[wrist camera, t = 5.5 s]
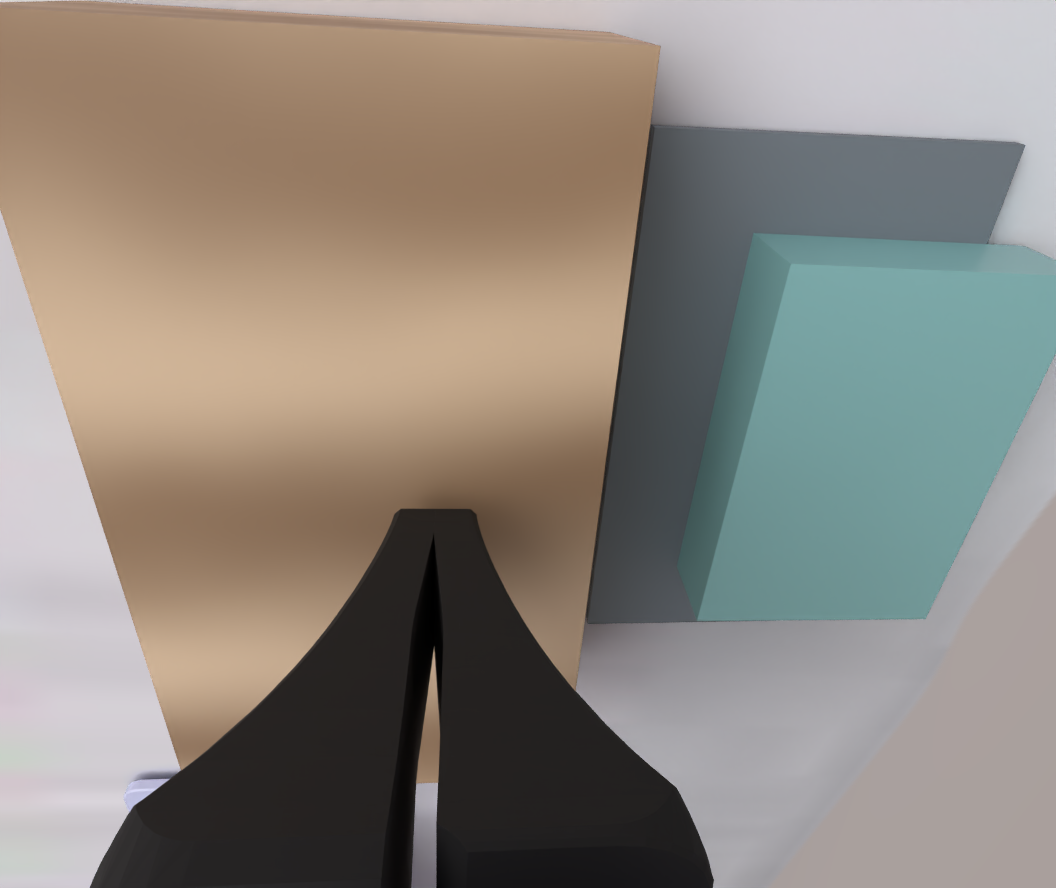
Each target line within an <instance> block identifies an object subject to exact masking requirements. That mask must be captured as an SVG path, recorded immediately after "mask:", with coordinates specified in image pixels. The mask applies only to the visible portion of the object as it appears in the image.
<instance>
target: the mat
mask: <svg viewBox="0 0 1056 888" xmlns="http://www.w3.org/2000/svg"><path fill="white" fill-rule="evenodd" d="M1024 148H1025V145H1024V144H1020V143H1016V142H998V141H977V140H956V139H935V138H914V137H893V136H872V135H851V134H830V133H809V132H788V131H767V130H746V129H725V128H704V127H683V126H662V125H651V132H650V139H649V147H648V154H647V162H646V169H645V177H644V184H643V192H642V199H641V207H640V214H639V222H638V230H637V237H636V245H635V252H634V260H633V267H632V275H631V282H630V290H629V297H628V305H627V312H626V320H625V327H624V335H623V343H622V350H621V358H620V365H619V373H618V380H617V388H616V395H615V403H614V410H613V418H612V425H611V433H610V441H609V448H608V456H607V463H606V471H605V478H604V486H603V493H602V501H601V508H600V516H599V523H598V531H597V538H596V546H595V554H594V561H593V569H592V576H591V584H590V591H589V599H588V606H587V614H586V618H587V623H588V624H609V623H663V622H716V621H697V619H696V617H695V614H694V611H693V609H692V606H691V603H690V601H689V598H688V595H687V593H686V590H685V587H684V585H683V582H682V579H681V577H680V574H679V571H678V569H677V563H678V559H679V555H680V550H681V546H682V542H683V537H684V533H685V529H686V524H687V520H688V516H689V511H690V507H691V503H692V498H693V494H694V490H695V485H696V481H697V476H698V472H699V468H700V463H701V459H702V455H703V450H704V446H705V442H706V437H707V433H708V429H709V424H710V420H711V416H712V411H713V407H714V403H715V398H716V394H717V390H718V385H719V381H720V376H721V372H722V368H723V363H724V359H725V355H726V350H727V346H728V342H729V337H730V333H731V329H732V324H733V320H734V316H735V311H736V307H737V303H738V298H739V294H740V290H741V285H742V281H743V277H744V272H745V268H746V263H747V259H748V255H749V250H750V246H751V242H752V237H753V233H764V234H785V235H806V236H827V237H848V238H869V239H890V240H910V241H931V242H952V243H973V244H987V243H988V240H989V238H990V235H991V233H992V230H993V227H994V225H995V222H996V220H997V217H998V215H999V212H1000V209H1001V207H1002V204H1003V202H1004V199H1005V197H1006V194H1007V191H1008V189H1009V186H1010V184H1011V181H1012V179H1013V176H1014V173H1015V171H1016V168H1017V166H1018V163H1019V161H1020V158H1021V155H1022V153H1023V150H1024ZM752 621H770V620H752Z"/></svg>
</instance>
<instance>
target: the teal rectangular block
mask: <svg viewBox="0 0 1056 888" xmlns="http://www.w3.org/2000/svg"><path fill="white" fill-rule="evenodd" d="M1055 354H1056V260H1054V259H1052V258H1050V257H1047V256H1045V255H1043V254H1041V253H1039V252H1036V251H1034V250H1032V249H1030V248H1028V247H1025V246H1015V245H994V244H973V243H952V242H931V241H910V240H890V239H869V238H848V237H827V236H806V235H785V234H764V233H753V237H752V242H751V246H750V250H749V255H748V259H747V263H746V268H745V272H744V277H743V281H742V285H741V290H740V294H739V298H738V303H737V307H736V311H735V316H734V320H733V324H732V329H731V333H730V337H729V342H728V346H727V350H726V355H725V359H724V363H723V368H722V372H721V376H720V381H719V385H718V390H717V394H716V398H715V403H714V407H713V411H712V416H711V420H710V424H709V429H708V433H707V437H706V442H705V446H704V450H703V455H702V459H701V463H700V468H699V472H698V476H697V481H696V485H695V490H694V494H693V498H692V503H691V507H690V511H689V516H688V520H687V524H686V529H685V533H684V537H683V542H682V546H681V550H680V555H679V559H678V563H677V569H678V571H679V574H680V577H681V579H682V582H683V585H684V587H685V590H686V593H687V595H688V598H689V601H690V603H691V606H692V609H693V611H694V614H695V617H696V619H697V621H752V620H870V619H926V617H927V615H928V613H929V611H930V608H931V606H932V604H933V602H934V600H935V598H936V596H937V594H938V592H939V590H940V588H941V586H942V584H943V582H944V580H945V578H946V576H947V574H948V572H949V570H950V568H951V566H952V564H953V562H954V560H955V558H956V555H957V553H958V551H959V549H960V547H961V545H962V543H963V541H964V539H965V537H966V535H967V533H968V531H969V529H970V527H971V525H972V523H973V521H974V519H975V517H976V515H977V513H978V511H979V509H980V507H981V505H982V502H983V500H984V498H985V496H986V494H987V492H988V490H989V488H990V486H991V484H992V482H993V480H994V478H995V476H996V474H997V472H998V470H999V468H1000V466H1001V464H1002V462H1003V460H1004V458H1005V456H1006V454H1007V452H1008V449H1009V447H1010V445H1011V443H1012V441H1013V439H1014V437H1015V435H1016V433H1017V431H1018V429H1019V427H1020V425H1021V423H1022V421H1023V419H1024V417H1025V415H1026V413H1027V411H1028V409H1029V407H1030V405H1031V403H1032V401H1033V399H1034V396H1035V394H1036V392H1037V390H1038V388H1039V386H1040V384H1041V382H1042V380H1043V378H1044V376H1045V374H1046V372H1047V370H1048V368H1049V366H1050V364H1051V362H1052V360H1053V358H1054V356H1055Z"/></svg>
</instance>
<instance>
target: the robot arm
mask: <svg viewBox="0 0 1056 888" xmlns="http://www.w3.org/2000/svg"><path fill="white" fill-rule="evenodd" d="M434 651H435V666H436V681H437V696H438V710H439V725H440V751H439V776H438V800H437V888H713V882H714V879H713V876H712V873H711V868H710V864H709V860H708V857H707V854H706V851H705V849H704V846H703V844H702V841H701V839H700V836H699V834H698V831H697V829H696V827H695V825H694V822H693V820H692V818H691V816H690V813H689V811H688V809H687V807H686V805H685V803H684V801H683V799H682V797H681V795H680V793H679V792H678V790H677V788H676V787H675V786H674V785H673V784H671V783H670V782H669V781H668V780H667V779H665V778H664V777H663V776H662V775H661V774H659V773H658V772H657V771H656V770H655V769H653V768H652V767H651V766H650V765H649V764H648V763H646V762H645V761H644V760H643V759H642V758H641V757H640V756H639V755H637V754H636V753H635V752H634V751H633V750H632V749H631V748H630V747H629V746H628V745H627V744H626V743H625V742H624V741H622V740H621V739H620V738H619V737H618V736H617V735H616V734H615V733H614V732H613V731H612V730H611V729H610V728H609V727H608V726H607V725H606V724H605V723H604V722H603V721H602V720H601V719H600V717H599V716H598V715H597V714H596V713H595V712H594V711H593V710H592V709H591V708H590V706H589V705H588V704H587V703H586V702H585V701H584V700H583V699H582V698H581V697H580V695H579V694H578V693H577V692H576V691H575V690H574V689H573V688H572V687H571V685H570V684H569V683H568V682H567V680H566V679H565V678H564V677H563V675H562V674H561V673H560V672H559V670H558V669H557V668H556V667H555V665H554V664H553V663H552V661H551V660H550V659H549V657H548V656H547V655H546V653H545V652H544V650H543V649H542V648H541V646H540V645H539V643H538V642H537V641H536V639H535V638H534V636H533V635H532V633H531V631H530V630H529V628H528V627H527V625H526V624H525V622H524V620H523V619H522V617H521V615H520V614H519V612H518V610H517V609H516V607H515V605H514V604H513V602H512V600H511V598H510V596H509V595H508V593H507V591H506V589H505V587H504V585H503V583H502V581H501V579H500V577H499V575H498V573H497V571H496V569H495V567H494V565H493V562H492V560H491V558H490V556H489V553H488V551H487V548H486V546H485V543H484V540H483V538H482V535H481V531H480V528H479V524H478V520H477V514H476V513H474V512H473V511H472V510H471V509H400V510H399V511H397V512H396V513H395V514H394V517H393V519H392V522H391V525H390V527H389V529H388V531H387V534H386V536H385V538H384V540H383V542H382V544H381V546H380V547H379V549H378V551H377V553H376V555H375V557H374V558H373V560H372V562H371V563H370V565H369V567H368V568H367V570H366V572H365V573H364V575H363V577H362V578H361V580H360V581H359V583H358V585H357V586H356V588H355V589H354V591H353V592H352V594H351V595H350V597H349V598H348V599H347V601H346V602H345V604H344V605H343V607H342V608H341V609H340V611H339V612H338V614H337V615H336V616H335V618H334V619H333V621H332V622H331V623H330V625H329V626H328V627H327V629H326V630H325V631H324V632H323V634H322V635H321V636H320V637H319V639H318V640H317V641H316V642H315V644H314V645H313V646H312V647H311V648H310V650H309V651H308V652H307V653H306V654H305V655H304V657H303V658H302V659H301V660H300V661H299V662H298V663H297V665H296V666H295V667H294V668H293V669H292V670H291V671H290V672H289V673H288V674H287V675H286V676H285V677H284V678H283V679H282V681H281V682H280V683H279V684H278V685H277V686H276V687H275V688H274V689H273V690H272V691H271V692H270V693H269V694H268V695H267V696H266V697H265V698H264V699H263V700H262V701H261V702H260V703H259V704H258V705H257V706H256V707H255V708H254V709H253V710H252V711H251V712H250V713H248V714H247V715H246V716H245V717H244V718H243V719H242V720H241V721H239V722H238V723H237V724H236V725H235V726H234V727H233V728H231V729H230V730H229V731H228V732H227V733H226V734H225V735H224V736H222V737H221V738H220V739H219V740H218V741H217V742H216V743H214V744H213V745H212V746H211V747H210V748H209V749H208V750H206V751H205V752H204V753H203V754H202V755H200V756H199V757H198V758H197V759H195V760H194V761H193V762H192V763H190V764H189V765H188V766H186V767H185V768H184V769H182V770H181V771H180V772H178V773H177V774H176V775H174V776H173V777H172V778H170V779H146V780H136V781H134V782H132V783H130V784H129V785H128V787H127V789H126V792H125V794H124V801H125V803H126V805H127V808H128V810H129V814H128V816H127V817H126V819H125V821H124V822H123V824H122V826H121V828H120V829H119V831H118V833H117V834H116V836H115V838H114V840H113V842H112V844H111V846H110V847H109V849H108V851H107V853H106V854H105V856H104V858H103V860H102V862H101V864H100V866H99V868H98V870H97V872H96V874H95V876H94V879H93V881H92V884H91V886H90V888H411V880H412V857H413V835H414V814H415V793H416V780H417V770H418V760H419V753H420V746H421V739H422V732H423V724H424V717H425V710H426V703H427V696H428V689H429V681H430V674H431V667H432V659H433V652H434Z"/></svg>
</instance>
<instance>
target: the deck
mask: <svg viewBox="0 0 1056 888" xmlns="http://www.w3.org/2000/svg"><path fill="white" fill-rule="evenodd" d="M659 54H660V46H658V45H655V44H651V43H647V42H643V41H640V40H636V39H632V38H629V37H625V36H621V35H617V34H614V33H610V32H597V31H581V30H564V29H547V28H530V27H514V26H497V25H480V24H463V23H446V22H430V21H413V20H396V19H379V18H362V17H346V16H329V15H312V14H295V13H279V12H262V11H245V10H228V9H211V8H195V7H178V6H161V5H144V4H128V3H111V2H94V1H45V2H0V210H1V213H2V216H3V219H4V222H5V225H6V228H7V231H8V234H9V238H10V241H11V244H12V247H13V250H14V253H15V256H16V259H17V262H18V265H19V269H20V272H21V275H22V278H23V281H24V284H25V287H26V290H27V293H28V297H29V300H30V303H31V306H32V309H33V312H34V315H35V318H36V321H37V324H38V328H39V331H40V334H41V337H42V340H43V343H44V346H45V349H46V352H47V356H48V359H49V362H50V365H51V368H52V371H53V374H54V377H55V380H56V384H57V387H58V390H59V393H60V396H61V399H62V402H63V405H64V408H65V411H66V415H67V418H68V421H69V424H70V427H71V430H72V433H73V436H74V439H75V443H76V446H77V449H78V452H79V455H80V458H81V461H82V464H83V467H84V470H85V474H86V477H87V480H88V483H89V486H90V489H91V492H92V495H93V498H94V502H95V505H96V508H97V511H98V514H99V517H100V520H101V523H102V526H103V530H104V533H105V536H106V539H107V542H108V545H109V548H110V551H111V554H112V557H113V561H114V564H115V567H116V570H117V573H118V576H119V579H120V582H121V585H122V589H123V592H124V595H125V598H126V601H127V604H128V607H129V610H130V613H131V617H132V620H133V623H134V626H135V629H136V632H137V635H138V638H139V641H140V644H141V648H142V651H143V654H144V657H145V660H146V663H147V666H148V669H149V672H150V676H151V679H152V682H153V685H154V688H155V691H156V694H157V697H158V700H159V703H160V707H161V710H162V713H163V716H164V719H165V722H166V725H167V728H168V731H169V735H170V738H171V741H172V744H173V747H174V750H175V753H176V756H177V759H178V763H179V766H180V769H181V770H182V769H184V768H185V767H186V766H188V765H189V764H190V763H192V762H193V761H194V760H195V759H197V758H198V757H199V756H200V755H202V754H203V753H204V752H205V751H206V750H208V749H209V748H210V747H211V746H212V745H213V744H214V743H216V742H217V741H218V740H219V739H220V738H221V737H222V736H224V735H225V734H226V733H227V732H228V731H229V730H230V729H231V728H233V727H234V726H235V725H236V724H237V723H238V722H239V721H241V720H242V719H243V718H244V717H245V716H246V715H247V714H248V713H250V712H251V711H252V710H253V709H254V708H255V707H256V706H257V705H258V704H259V703H260V702H261V701H262V700H263V699H264V698H265V697H266V696H267V695H268V694H269V693H270V692H271V691H272V690H273V689H274V688H275V687H276V686H277V685H278V684H279V683H280V682H281V681H282V679H283V678H284V677H285V676H286V675H287V674H288V673H289V672H290V671H291V670H292V669H293V668H294V667H295V666H296V665H297V663H298V662H299V661H300V660H301V659H302V658H303V657H304V655H305V654H306V653H307V652H308V651H309V650H310V648H311V647H312V646H313V645H314V644H315V642H316V641H317V640H318V639H319V637H320V636H321V635H322V634H323V632H324V631H325V630H326V629H327V627H328V626H329V625H330V623H331V622H332V621H333V619H334V618H335V616H336V615H337V614H338V612H339V611H340V609H341V608H342V607H343V605H344V604H345V602H346V601H347V599H348V598H349V597H350V595H351V594H352V592H353V591H354V589H355V588H356V586H357V585H358V583H359V581H360V580H361V578H362V577H363V575H364V573H365V572H366V570H367V568H368V567H369V565H370V563H371V562H372V560H373V558H374V557H375V555H376V553H377V551H378V549H379V547H380V546H381V544H382V542H383V540H384V538H385V536H386V534H387V531H388V529H389V527H390V525H391V522H392V519H393V517H394V514H395V513H396V512H397V511H399V510H400V509H471V510H472V511H473V512H474V513H476V514H477V520H478V524H479V528H480V531H481V535H482V538H483V540H484V543H485V546H486V548H487V551H488V553H489V556H490V558H491V560H492V562H493V565H494V567H495V569H496V571H497V573H498V575H499V577H500V579H501V581H502V583H503V585H504V587H505V589H506V591H507V593H508V595H509V596H510V598H511V600H512V602H513V604H514V605H515V607H516V609H517V610H518V612H519V614H520V615H521V617H522V619H523V620H524V622H525V624H526V625H527V627H528V628H529V630H530V631H531V633H532V635H533V636H534V638H535V639H536V641H537V642H538V643H539V645H540V646H541V648H542V649H543V650H544V652H545V653H546V655H547V656H548V657H549V659H550V660H551V661H552V663H553V664H554V665H555V667H556V668H557V669H558V670H559V672H560V673H561V674H562V675H563V677H564V678H565V679H566V680H567V682H568V683H569V684H570V685H571V687H572V688H573V689H574V690H575V691H576V683H577V676H578V668H579V661H580V653H581V645H582V638H583V630H584V623H585V615H586V608H587V600H588V592H589V585H590V577H591V570H592V562H593V554H594V547H595V539H596V532H597V524H598V517H599V509H600V501H601V494H602V486H603V479H604V471H605V463H606V456H607V448H608V441H609V433H610V426H611V418H612V410H613V403H614V395H615V388H616V380H617V372H618V365H619V357H620V350H621V342H622V335H623V327H624V319H625V312H626V304H627V297H628V289H629V281H630V274H631V266H632V259H633V251H634V244H635V236H636V228H637V221H638V213H639V206H640V198H641V190H642V183H643V175H644V168H645V160H646V153H647V145H648V137H649V130H650V122H651V115H652V107H653V99H654V92H655V84H656V77H657V69H658V62H659ZM439 751H440V725H439V710H438V696H437V681H436V666H435V651H434V652H433V659H432V667H431V674H430V681H429V689H428V696H427V703H426V710H425V717H424V724H423V732H422V739H421V746H420V753H419V760H418V770H417V780H416V783H438V776H439Z"/></svg>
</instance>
